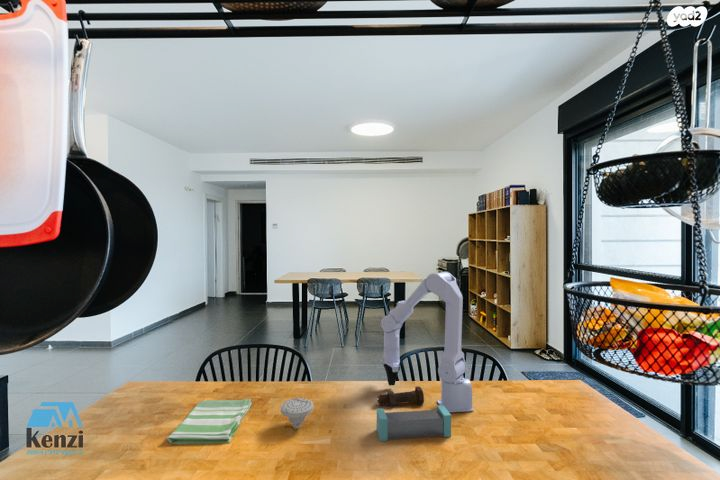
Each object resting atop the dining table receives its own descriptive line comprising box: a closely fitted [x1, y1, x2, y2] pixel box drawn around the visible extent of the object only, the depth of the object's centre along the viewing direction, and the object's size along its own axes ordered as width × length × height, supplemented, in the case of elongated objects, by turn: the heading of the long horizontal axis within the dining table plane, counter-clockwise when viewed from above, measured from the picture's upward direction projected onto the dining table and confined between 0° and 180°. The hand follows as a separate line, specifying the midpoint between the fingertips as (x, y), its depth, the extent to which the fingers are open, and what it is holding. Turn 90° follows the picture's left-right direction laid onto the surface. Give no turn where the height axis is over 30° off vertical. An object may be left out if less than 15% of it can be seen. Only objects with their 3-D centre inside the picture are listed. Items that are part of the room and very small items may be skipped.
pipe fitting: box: [376, 404, 452, 442], centre depth 101 cm, size 20×6×6 cm, turn 97°
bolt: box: [376, 386, 425, 408], centre depth 119 cm, size 6×5×15 cm
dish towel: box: [166, 398, 253, 445], centre depth 107 cm, size 18×23×3 cm
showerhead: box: [280, 397, 314, 429], centre depth 104 cm, size 9×7×10 cm
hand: (391, 384), depth 131 cm, fingers closed
